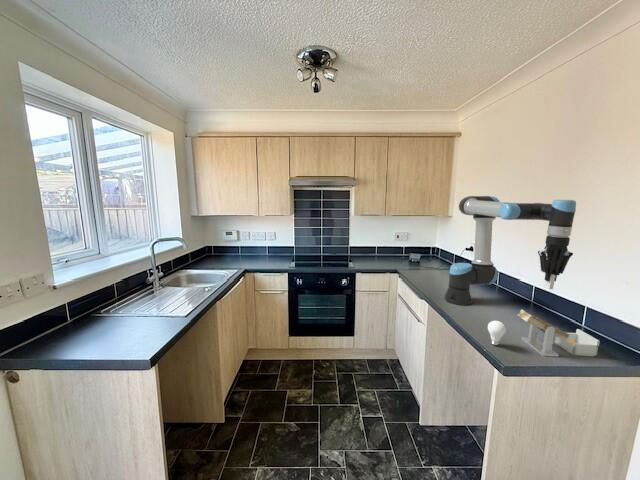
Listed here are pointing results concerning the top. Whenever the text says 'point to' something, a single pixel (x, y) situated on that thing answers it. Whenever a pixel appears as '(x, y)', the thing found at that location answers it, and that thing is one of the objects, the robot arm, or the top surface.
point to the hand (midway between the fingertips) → (548, 287)
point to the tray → (579, 344)
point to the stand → (540, 347)
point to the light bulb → (496, 331)
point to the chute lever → (541, 324)
